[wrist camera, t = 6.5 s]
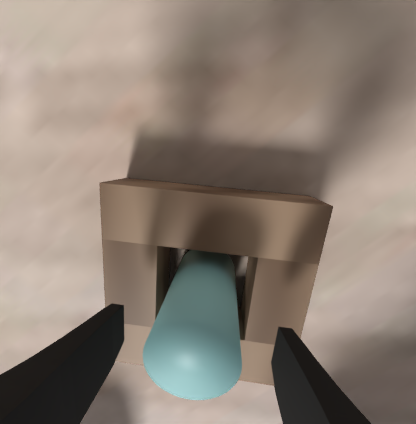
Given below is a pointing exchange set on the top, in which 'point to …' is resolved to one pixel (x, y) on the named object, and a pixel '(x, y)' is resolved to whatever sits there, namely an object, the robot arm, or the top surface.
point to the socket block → (212, 242)
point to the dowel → (197, 330)
